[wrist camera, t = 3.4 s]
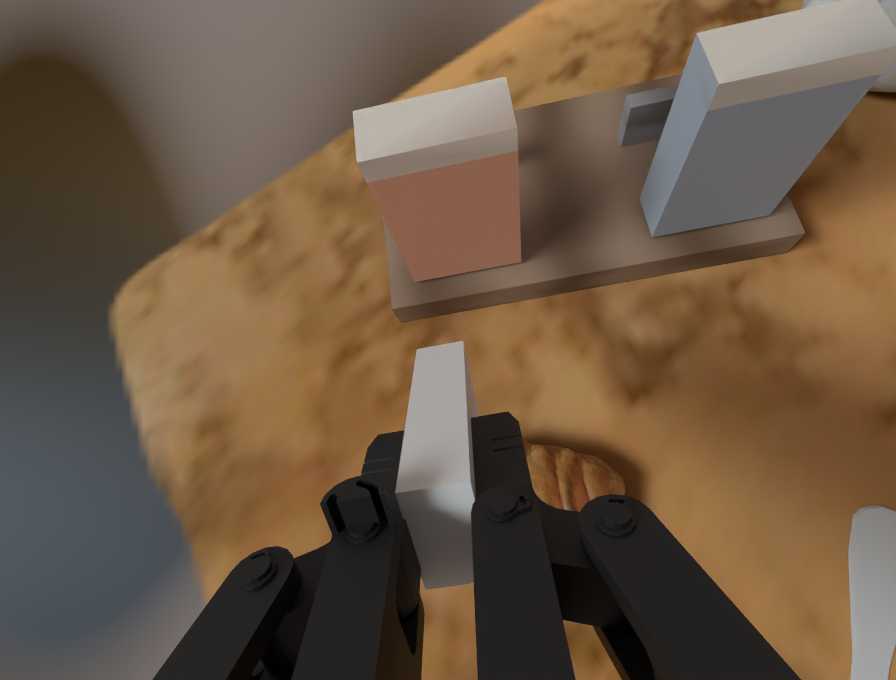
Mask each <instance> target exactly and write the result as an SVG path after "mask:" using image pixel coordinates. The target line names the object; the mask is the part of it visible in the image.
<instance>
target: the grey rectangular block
mask: <svg viewBox="0 0 896 680" xmlns="http://www.w3.org/2000/svg"><path fill="white" fill-rule="evenodd" d="M895 56H896V29H895V27H894V26H893V24H892V22H891V21H890V19H889V18H888V16H887V15H886V13H885V12H884V10H883V8H882V7H881V5H880V4H879V2H878V1H877V0H841V1H836V2H832V3H827V4H823V5H819V6H814V7H810V8H805V9H801V10H797V11H792V12H788V13H783V14H779V15H775V16H770V17H766V18H761V19H757V20H753V21H748V22H744V23H739V24H735V25H731V26H726V27H722V28H717V29H713V30H709V31H704V32H700V33H697V34H696V37H695V40H694V43H693V46H692V48H691V51H690V54H689V57H688V60H687V63H686V66H685V69H684V72H683V74H682V77H681V80H680V83H679V86H678V89H677V92H676V95H675V98H674V100H673V103H672V106H671V109H670V112H669V115H668V118H667V121H666V124H665V126H664V129H663V132H662V135H661V138H660V141H659V144H658V147H657V150H656V152H655V155H654V158H653V161H652V164H651V167H650V170H649V173H648V176H647V178H646V181H645V184H644V187H643V190H642V193H641V196H640V202H641V205H642V208H643V211H644V215H645V218H646V221H647V224H648V227H649V230H650V233H651V236H652V237H657V236H662V235H667V234H673V233H678V232H683V231H689V230H694V229H699V228H704V227H710V226H715V225H720V224H726V223H731V222H736V221H741V220H747V219H752V218H757V217H763V216H768V215H770V214H771V212H772V211H773V210H774V209H775V207H776V206H777V205H778V204H779V202H780V201H781V200H782V199H783V197H784V196H785V195H786V194H787V192H788V191H789V190H790V189H791V187H792V186H793V185H794V183H795V182H796V181H797V180H798V178H799V177H800V176H801V175H802V173H803V172H804V171H805V170H806V168H807V167H808V166H809V165H810V163H811V162H812V161H813V160H814V158H815V157H816V156H817V155H818V153H819V152H820V151H821V149H822V148H823V147H824V146H825V144H826V143H827V142H828V141H829V139H830V138H831V137H832V136H833V134H834V133H835V132H836V131H837V129H838V128H839V127H840V126H841V124H842V123H843V122H844V121H845V119H846V118H847V117H848V115H849V114H850V113H851V112H852V110H853V109H854V108H855V107H856V105H857V104H858V103H859V102H860V100H861V99H862V98H863V97H864V95H865V94H866V93H867V92H868V90H869V89H870V88H871V87H872V85H873V84H874V83H875V81H876V80H877V79H878V78H879V76H880V75H881V74H882V73H883V71H884V70H885V69H886V68H887V66H888V65H889V64H890V63H891V61H892V60H893V59H894V58H895Z"/></svg>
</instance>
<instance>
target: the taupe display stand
mask: <svg viewBox="0 0 896 680" xmlns="http://www.w3.org/2000/svg"><path fill="white" fill-rule="evenodd" d="M681 77H682V74H680V75H676V76H671V77H666V78H662V79H657V80H653V81H648V82H644V83H639V84H635V85H630V86H625V87H621V88H616V89H612V90H607V91H603V92H598V93H594V94H589V95H584V96H580V97H575V98H571V99H566V100H562V101H557V102H553V103H548V104H543V105H539V106H534V107H530V108H525V109H521V110H516V111H514V115H515V120H516V124H517V132H518V166H519V199H520V233H521V262H519V263H514V264H508V265H503V266H498V267H493V268H487V269H482V270H477V271H471V272H466V273H461V274H455V275H450V276H445V277H440V278H434V279H429V280H424V281H418V282H414V280H413V278H412V275H411V273H410V271H409V269H408V267H407V265H406V263H405V261H404V259H403V257H402V255H401V253H400V251H399V249H398V247H397V245H396V242H395V240H394V238H393V236H392V234H391V232H390V230H389V228H388V226H387V224H386V222H385V220H384V230H385V240H386V251H387V261H388V272H389V282H390V292H391V303H392V310H393V311H394V313H395V314H396V316H397V317H398V319H399V321H400V322H406V321H411V320H417V319H422V318H428V317H434V316H439V315H445V314H450V313H456V312H461V311H467V310H472V309H478V308H483V307H489V306H494V305H500V304H505V303H511V302H516V301H522V300H527V299H533V298H538V297H544V296H550V295H555V294H561V293H566V292H572V291H577V290H583V289H588V288H594V287H599V286H605V285H610V284H616V283H621V282H627V281H632V280H638V279H643V278H649V277H654V276H660V275H666V274H671V273H677V272H682V271H688V270H693V269H699V268H704V267H710V266H715V265H721V264H726V263H732V262H737V261H743V260H748V259H754V258H759V257H765V256H770V255H776V254H782V253H787V252H788V251H789V250H790V249H791V248H792V247H793V246H794V245H795V244H796V243H797V242H798V241H799V240H800V238H801V237H802V236H803V235H804V234H805V230H804V228H803V226H802V224H801V222H800V219H799V217H798V215H797V213H796V211H795V208H794V206H793V204H792V202H791V200H790V197H789V195H788V193H787V194H786V195H785V196H784V197H783V199H782V200H781V201H780V202H779V204H778V205H777V206H776V207H775V209H774V210H773V211H772V212H771V214H770V215H768V216H763V217H757V218H752V219H747V220H741V221H736V222H731V223H726V224H720V225H715V226H710V227H704V228H699V229H694V230H689V231H683V232H678V233H673V234H667V235H662V236H657V237H652V236H651V233H650V230H649V227H648V224H647V221H646V218H645V215H644V211H643V208H642V205H641V202H640V196H641V193H642V190H643V187H644V184H645V181H646V178H647V176H648V173H649V170H650V167H651V164H652V161H653V158H654V155H655V152H656V150H657V147H658V144H659V141H660V138H661V135H662V132H663V129H664V126H665V124H666V121H667V118H668V115H669V112H670V109H671V106H672V103H673V100H674V98H675V95H676V92H677V89H678V86H679V83H680V80H681ZM383 219H384V218H383Z"/></svg>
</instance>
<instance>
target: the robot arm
mask: <svg viewBox="0 0 896 680" xmlns="http://www.w3.org/2000/svg"><path fill="white" fill-rule="evenodd" d="M364 462H365V464H364V465H363V468H362V472H361V473H362V475H361V476H357V477H354V478H350V479H347V480H345V481H343V482H341V483H339V484H337V485H336V486H334V487H333V488H332V489H331V490H330V491H329V492H328V493H327V494H325V496H324V498H323V500H322V501H321V503H320V505H321V508H322V510H323V513H324V515H325V518H326V520H327V523H328V525H329V528H330V530H331V533H332V538H331V541H330V542H329V543H327V544H326V545H324V546H322V547H320V548H318V549H316V550H313V551H311V552H308V553H306V554H304V555H301V556H299V557H296V558H293V556H292V554H291V553H290V552H289V551H288V550H287V549H285V548H282V547H278V546H276V547H267V548H264V549H261V550H259V551H256V552H254V553H252V554H251V555H249V556H248V557H246V558H245V559H243V560H242V561H241V562H240V563H239V564H238V565H237V566H236V567H235V568H234V569H233V570H232V571H231V572H230V574H229V575H228V577H227V578H226V579H225V581H224V582H223V583H222V585H221V586H220V588H219V589H218V590H217V592H216V593H215V594H214V596H213V597H212V599H211V600H210V601H209V603H208V604H207V605H206V607H205V608H204V610H203V611H202V612H201V614H200V615H199V616H198V618H197V619H196V621H195V622H194V623H193V625H192V626H191V627H190V629H189V630H188V632H187V633H186V634H185V636H184V637H183V639H182V640H181V641H180V643H179V644H178V645H177V647H176V648H175V649H174V651H173V652H172V654H171V655H170V656H169V658H168V659H167V660H166V662H165V663H164V664H163V666H162V667H161V669H160V670H159V671H158V673H157V674H156V676H155V677H154V678H153V680H421V670H422V651H423V632H424V607H423V602H422V599H421V596H420V593H419V591H420V577H422V580H423V583H424V586H425V589H433V588H441V587H448V586H455V585H462V584H470V583H474V599H475V622H476V645H477V669H478V680H575V675H574V671H573V666H572V661H571V657H570V652H569V647H568V643H567V638H566V634H565V629H564V624H563V620H567V621H572V622H577V623H582V624H587V625H593V627H594V630H595V632H596V633H597V635H598V637H599V639H600V641H601V643H602V644H603V646H604V648H605V650H606V652H607V653H608V655H609V657H610V659H611V661H612V662H613V664H614V666H615V668H616V670H617V671H618V673H619V675H620V677H621V679H622V680H801V679H800V678H799V677H798V676H797V675H796V673H795V672H794V671H793V670H792V669H791V668H790V667H789V666H788V664H787V663H786V662H785V661H784V660H783V659H782V658H781V656H780V655H779V654H778V653H777V652H776V651H775V650H774V649H773V647H772V646H771V645H770V644H769V643H768V642H767V641H766V640H765V638H764V637H763V636H762V635H761V634H760V633H759V632H758V631H757V629H756V628H755V627H754V626H753V625H752V624H751V623H750V622H749V620H748V619H747V618H746V617H745V616H744V615H743V614H742V613H741V611H740V610H739V609H738V608H737V607H736V606H735V605H734V604H733V602H732V601H731V600H730V599H729V598H728V597H727V596H726V595H725V593H724V592H723V591H722V590H721V589H720V588H719V587H718V585H717V584H716V583H715V582H714V581H713V580H712V579H711V578H710V576H709V575H708V574H707V573H706V572H705V571H704V570H703V569H702V567H701V566H700V565H699V564H698V563H697V562H696V561H695V560H694V558H693V557H692V556H691V555H690V554H689V553H688V552H687V551H686V549H685V548H684V547H683V546H682V545H681V544H680V543H679V542H678V540H677V539H676V538H675V537H674V536H673V535H672V534H671V533H670V531H669V530H668V529H667V528H666V527H665V526H664V525H663V524H662V522H661V521H660V520H659V519H658V518H657V517H656V516H655V514H654V513H653V512H652V511H651V510H650V509H649V508H648V507H647V506H645V505H644V504H643V503H641V502H640V501H639V500H636V499H634V498H631V497H628V496H626V495H616V494H609V495H603V496H598V497H596V498H594V499H592V500H590V501H589V502H587V503H586V504H585V505H584V507H583V508H582V509H581V510H580V512H579V511H570V510H563V509H558V508H555V507H553V506H550V505H548V504H546V503H545V502H543V501H542V500H541V499H540V498H539V497H538V496H537V495H536V494H535V491H534V489H533V486H532V481H531V477H530V472H529V468H528V463H527V458H526V454H525V449H524V445H523V440H522V436H521V431H520V426H519V422H518V421H517V420H516V419H515V418H514V417H513V416H512V415H511V414H510V413H509V412H503V413H497V414H491V415H485V416H479V413H478V408H477V403H476V398H475V394H474V389H473V384H472V379H471V375H470V370H469V365H468V360H467V356H466V351H465V346H464V341H459V342H454V343H449V344H443V345H438V346H432V347H427V348H421V349H417V352H416V359H415V365H414V372H413V379H412V385H411V392H410V398H409V405H408V411H407V418H406V425H405V430H404V431H398V432H392V433H386V434H380V435H378V436H377V437H376V438H375V439H374V441H373V442H372V443H371V444H370V446H369V447H368V449H367V453H366V457H365V461H364Z"/></svg>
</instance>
